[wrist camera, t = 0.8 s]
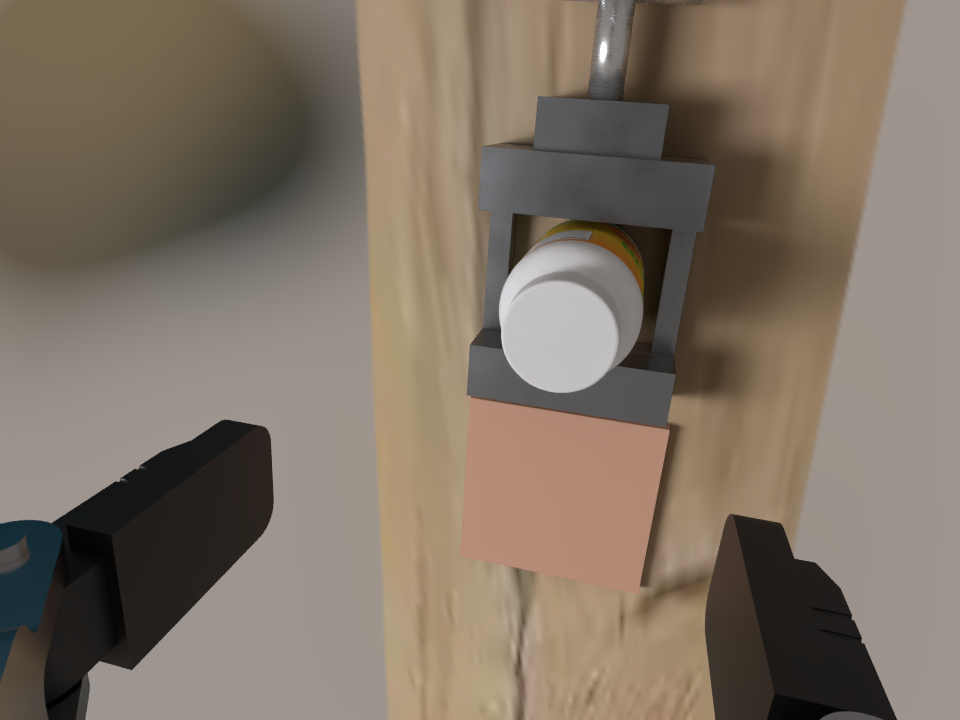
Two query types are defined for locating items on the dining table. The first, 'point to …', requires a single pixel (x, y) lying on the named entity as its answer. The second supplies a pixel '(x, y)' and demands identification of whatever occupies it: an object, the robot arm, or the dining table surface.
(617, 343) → the supplement bottle
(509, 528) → the terracotta tile
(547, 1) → the dining table surface
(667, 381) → the bench vise
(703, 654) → the dining table surface
